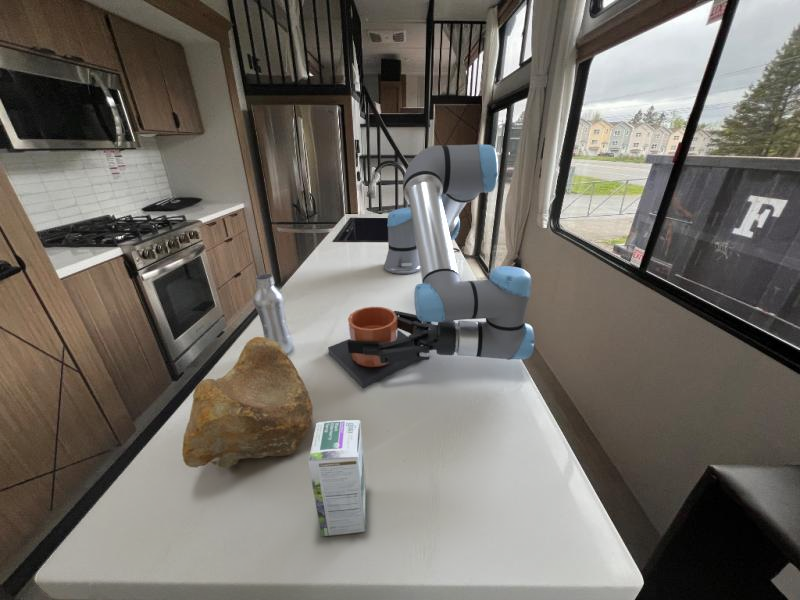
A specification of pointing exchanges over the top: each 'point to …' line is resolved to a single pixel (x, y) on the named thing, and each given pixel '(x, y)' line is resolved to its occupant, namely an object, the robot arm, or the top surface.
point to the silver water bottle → (272, 312)
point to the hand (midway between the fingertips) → (355, 332)
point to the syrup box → (338, 477)
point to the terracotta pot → (372, 331)
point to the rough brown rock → (248, 410)
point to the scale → (363, 373)
